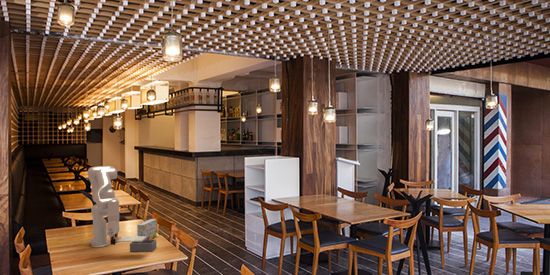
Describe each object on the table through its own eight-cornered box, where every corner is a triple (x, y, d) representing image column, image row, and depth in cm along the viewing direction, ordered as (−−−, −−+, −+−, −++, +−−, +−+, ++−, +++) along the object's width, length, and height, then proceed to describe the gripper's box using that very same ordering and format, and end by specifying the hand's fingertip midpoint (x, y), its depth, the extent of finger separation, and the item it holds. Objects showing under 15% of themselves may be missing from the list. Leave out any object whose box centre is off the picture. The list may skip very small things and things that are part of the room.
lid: (108, 244, 269) (108, 239, 269) (114, 239, 280) (114, 235, 280) (141, 243, 269) (141, 239, 269) (146, 239, 280) (146, 235, 280)
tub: (129, 252, 285) (129, 243, 285) (134, 247, 295) (134, 239, 295) (152, 251, 285) (152, 243, 285) (156, 247, 295) (156, 239, 295)
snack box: (143, 244, 304) (143, 224, 304) (137, 244, 305) (136, 224, 305) (157, 236, 325) (156, 218, 324) (151, 236, 326) (150, 218, 326)
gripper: (113, 214, 283) (113, 240, 283) (103, 220, 266) (103, 247, 267) (123, 214, 283) (124, 240, 283) (114, 220, 266) (114, 247, 267)
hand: (114, 243), depth 275 cm, fingers closed on lid, 3 cm apart
